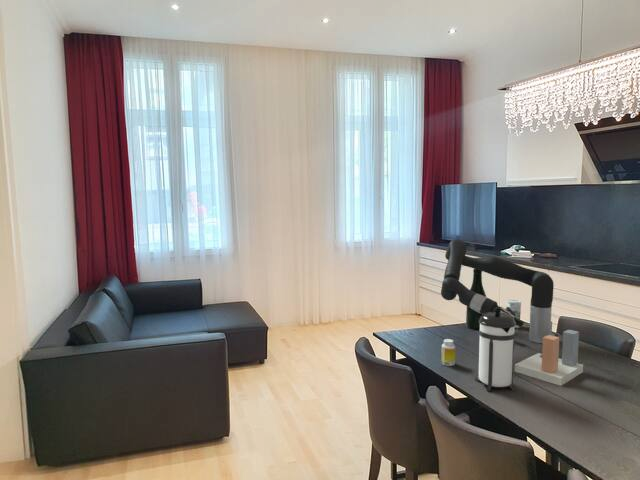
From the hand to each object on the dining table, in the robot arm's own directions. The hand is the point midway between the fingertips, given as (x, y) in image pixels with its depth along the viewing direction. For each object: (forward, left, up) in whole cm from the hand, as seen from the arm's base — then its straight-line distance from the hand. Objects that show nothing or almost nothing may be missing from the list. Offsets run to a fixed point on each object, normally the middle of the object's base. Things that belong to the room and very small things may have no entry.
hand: (522, 324), depth 185 cm
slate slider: (-14, +11, -15) cm, 23 cm away
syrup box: (-41, -43, -18) cm, 62 cm away
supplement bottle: (+25, -16, -18) cm, 35 cm away
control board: (-6, +9, -18) cm, 21 cm away
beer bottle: (-23, -51, -18) cm, 58 cm away
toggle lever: (-11, +2, -14) cm, 18 cm away
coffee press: (+23, +7, -18) cm, 30 cm away
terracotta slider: (-1, +13, -15) cm, 20 cm away
